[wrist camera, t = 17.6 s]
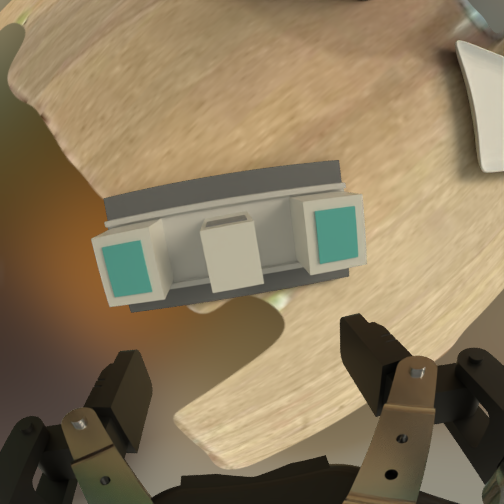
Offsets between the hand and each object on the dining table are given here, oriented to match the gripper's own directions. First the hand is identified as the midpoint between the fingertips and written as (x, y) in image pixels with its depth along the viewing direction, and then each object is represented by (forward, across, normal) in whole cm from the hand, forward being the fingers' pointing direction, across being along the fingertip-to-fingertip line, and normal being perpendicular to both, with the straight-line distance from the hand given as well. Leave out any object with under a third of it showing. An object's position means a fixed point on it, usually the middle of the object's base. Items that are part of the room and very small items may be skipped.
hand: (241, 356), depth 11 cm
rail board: (+25, 0, 0) cm, 25 cm away
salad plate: (+25, -47, -15) cm, 55 cm away
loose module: (+23, 0, 0) cm, 23 cm away
